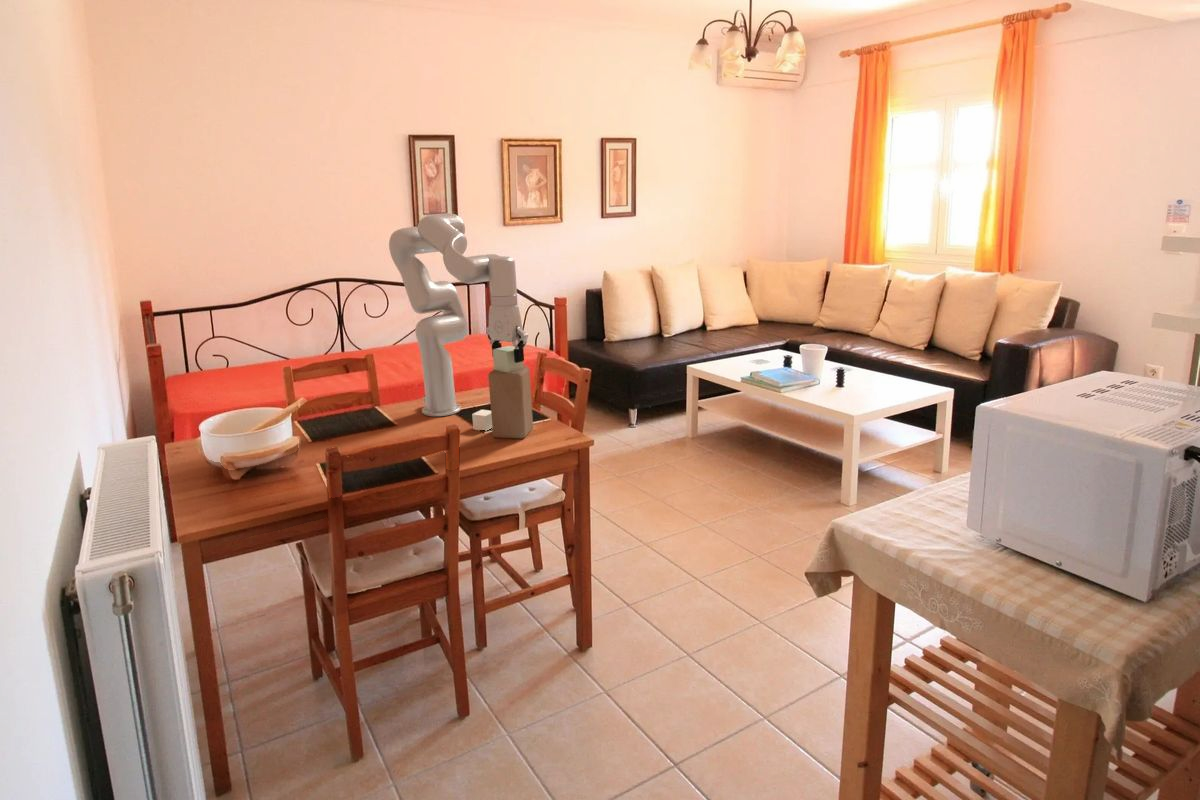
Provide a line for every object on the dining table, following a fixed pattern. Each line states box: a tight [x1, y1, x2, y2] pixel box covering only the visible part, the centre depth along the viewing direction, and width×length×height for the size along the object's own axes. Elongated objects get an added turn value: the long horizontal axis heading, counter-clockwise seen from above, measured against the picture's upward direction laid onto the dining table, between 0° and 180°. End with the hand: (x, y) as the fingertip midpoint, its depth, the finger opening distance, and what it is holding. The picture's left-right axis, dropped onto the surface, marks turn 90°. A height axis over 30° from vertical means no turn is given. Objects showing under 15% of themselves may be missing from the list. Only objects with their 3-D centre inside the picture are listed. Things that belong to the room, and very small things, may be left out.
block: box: [487, 365, 534, 439], centre depth 223 cm, size 10×10×20 cm
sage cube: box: [492, 345, 524, 373], centre depth 219 cm, size 6×6×6 cm
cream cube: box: [471, 409, 492, 432], centre depth 231 cm, size 5×5×5 cm
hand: (508, 359), depth 219 cm, fingers open, 9 cm apart
